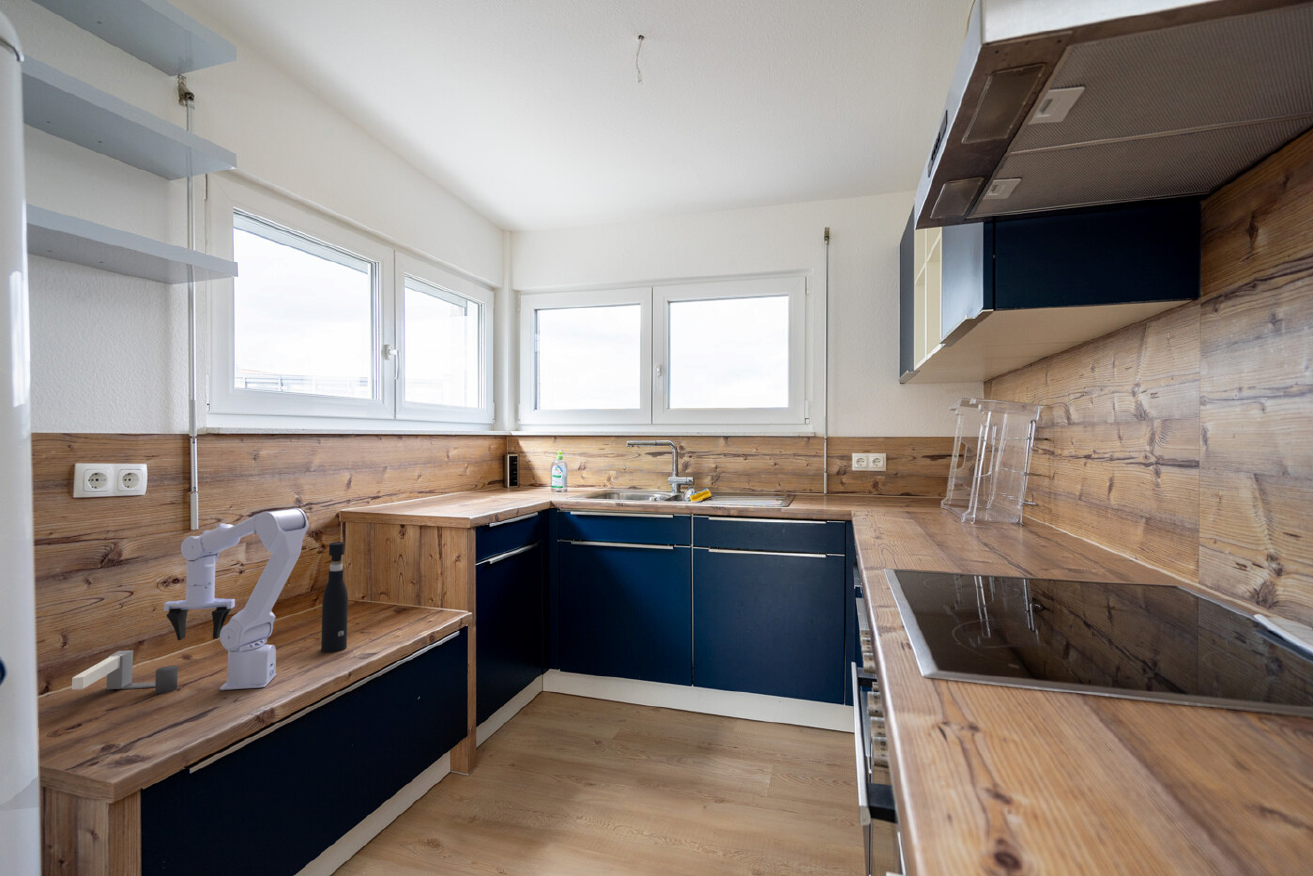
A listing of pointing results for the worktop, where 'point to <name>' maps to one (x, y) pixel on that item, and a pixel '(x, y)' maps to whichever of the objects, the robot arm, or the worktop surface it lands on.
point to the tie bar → (108, 672)
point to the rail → (139, 685)
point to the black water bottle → (335, 604)
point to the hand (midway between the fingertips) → (199, 638)
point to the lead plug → (166, 679)
